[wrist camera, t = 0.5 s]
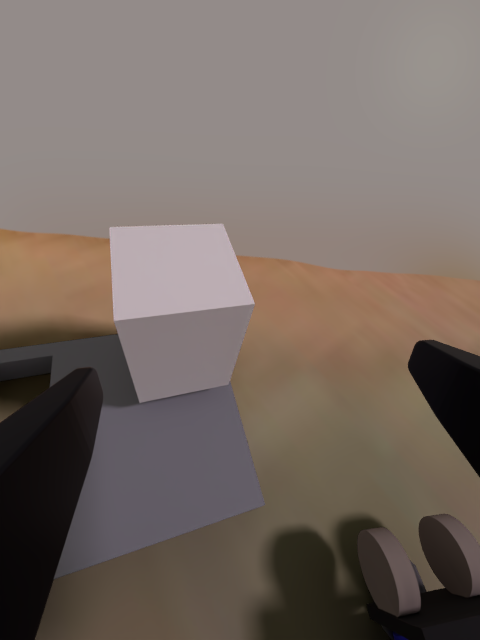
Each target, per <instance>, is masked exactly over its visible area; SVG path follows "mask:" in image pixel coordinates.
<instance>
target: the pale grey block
mask: <svg viewBox="0 0 480 640" xmlns="http://www.w3.org/2000/svg"><path fill="white" fill-rule="evenodd" d="M110 250H111V270H112V291H113V312H114V323H115V326H116V329H117V332H118V336H119V339H120V342H121V345H122V348H123V351H124V355H125V358H126V361H127V364H128V367H129V371H130V374H131V377H132V380H133V383H134V386H135V390H136V393H137V396H138V399H139V402H140V403H142V402H146V401H151V400H156V399H161V398H166V397H171V396H176V395H180V394H185V393H190V392H195V391H200V390H205V389H210V388H214V387H219V386H224V385H229V382H230V379H231V376H232V372H233V369H234V366H235V363H236V360H237V357H238V354H239V351H240V348H241V345H242V342H243V339H244V336H245V333H246V330H247V326H248V323H249V320H250V317H251V314H252V311H253V308H254V305H255V303H254V300H253V298H252V295H251V293H250V290H249V288H248V285H247V283H246V280H245V278H244V275H243V273H242V270H241V268H240V265H239V263H238V260H237V258H236V255H235V253H234V251H233V249H232V246H231V243H230V240H229V238H228V235H227V233H226V230H225V228H224V225H223V224H198V225H164V226H132V227H110Z"/></svg>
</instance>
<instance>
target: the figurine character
mask: <svg viewBox="0 0 480 640" xmlns="http://www.w3.org/2000/svg"><path fill="white" fill-rule="evenodd" d="M419 538H420V542H421V546H422V549H423V552H424V554H425V557H426V559H427V561H428V563H429V565H430V567H431V569H432V570H433V572H434V574H435V575H436V577H437V578H438V579H439V581H440V582H441V583H442V584H443V586H444V587H445V588H443V589H438V590H433V591H429V592H426V589H425V587H424V585H423V582H422V580H421V578H420V575H419V573H418V571H417V568H416V566H415V565H414V564H413V563H412V562H411V561H410V560H409V558H408V556H407V554H406V552H405V550H404V548H403V547H402V545H401V544H400V542H399V541H398V539H397V538H396V537H395V536H394V535H393V534H392V533H391V532H390V531H389V530H388V529H386V528H384V527H379V528H373V529H366V530H361V531H360V532H359V534H358V538H357V550H358V557H359V562H360V566H361V570H362V573H363V576H364V579H365V582H366V584H367V587H368V589H369V591H370V594H371V596H372V598H373V600H374V603H370V604H367V608H368V612H369V616H370V619H371V620H373V621H375V622H377V623H379V624H380V625H382V627H383V629H384V631H385V632H386V633H387V634H388V636H389V637H390V638H391V639H392V640H393V636H394V639H395V640H480V546H479V544H478V542H477V541H476V539H475V538H474V536H473V535H472V534H471V533H470V531H469V530H468V529H467V528H466V527H465V526H464V525H463V524H462V523H461V522H460V521H459V520H457V519H456V518H455V517H453V516H451V515H448V514H439V515H432V516H426V517H423V518H422V519H421V521H420V523H419Z"/></svg>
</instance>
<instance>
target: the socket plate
mask: <svg viewBox="0 0 480 640" xmlns="http://www.w3.org/2000/svg"><path fill="white" fill-rule="evenodd" d="M85 367H93V368H95V369H96V371H97V373H98V376H99V380H100V383H101V386H102V389H103V404H102V409H101V414H100V419H99V424H98V430H97V435H96V440H95V445H94V450H93V454H92V458H91V462H90V465H89V469H88V472H87V475H86V478H85V481H84V484H83V488H82V491H81V494H80V497H79V500H78V504H77V507H76V510H75V513H74V516H73V519H72V523H71V526H70V529H69V532H68V535H67V538H66V542H65V545H64V548H63V551H62V554H61V558H60V561H59V564H58V567H57V570H56V573H55V577H54V579H56V578H59V577H62V576H64V575H67V574H70V573H73V572H76V571H79V570H82V569H84V568H87V567H90V566H93V565H96V564H99V563H101V562H104V561H107V560H110V559H113V558H116V557H119V556H121V555H124V554H127V553H130V552H133V551H136V550H138V549H141V548H144V547H147V546H150V545H153V544H156V543H158V542H161V541H164V540H167V539H170V538H173V537H175V536H178V535H181V534H184V533H187V532H190V531H193V530H195V529H198V528H201V527H204V526H207V525H210V524H212V523H215V522H218V521H221V520H224V519H227V518H230V517H232V516H235V515H238V514H241V513H244V512H247V511H249V510H252V509H255V508H258V507H261V506H264V505H265V503H264V499H263V496H262V492H261V489H260V485H259V482H258V478H257V475H256V471H255V468H254V464H253V461H252V457H251V453H250V450H249V446H248V443H247V439H246V436H245V432H244V429H243V425H242V422H241V418H240V415H239V411H238V408H237V404H236V401H235V397H234V394H233V390H232V386H231V383H230V382H229V385H224V386H219V387H214V388H210V389H205V390H200V391H195V392H190V393H185V394H180V395H176V396H171V397H166V398H161V399H156V400H151V401H146V402H142V403H140V402H139V399H138V396H137V393H136V390H135V386H134V383H133V380H132V377H131V374H130V371H129V367H128V364H127V361H126V358H125V355H124V351H123V348H122V345H121V342H120V339H119V336H118V334H115V335H108V336H100V337H93V338H85V339H78V340H70V341H63V342H55V343H48V344H41V345H33V346H26V347H18V348H11V349H3V350H0V381H5V380H11V379H17V378H23V377H29V376H36V375H42V374H48V373H51V379H50V387H51V386H52V385H54V384H55V383H57V382H58V381H59V380H61V379H62V378H64V377H65V376H66V375H68V374H69V373H71V372H72V371H73V370H75V369H77V368H85Z"/></svg>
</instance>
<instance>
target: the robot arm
mask: <svg viewBox="0 0 480 640" xmlns="http://www.w3.org/2000/svg"><path fill="white" fill-rule="evenodd" d="M408 369H409V371H410V373H411V375H412V377H413V378H414V380H415V382H416V383H417V385H418V387H419V389H420V390H421V392H422V394H423V395H424V397H425V399H426V400H427V402H428V404H429V406H430V407H431V409H432V411H433V412H434V414H435V415H436V417H437V418H438V420H439V421H440V423H441V424H442V426H443V427H444V428H445V430H446V431H447V432H448V434H449V435H450V437H451V438H452V439H453V441H454V442H455V444H456V445H457V446H458V448H459V449H460V451H461V452H462V453H463V455H464V456H465V458H466V459H467V460H468V462H469V463H470V465H471V466H472V467H473V469H474V470H475V472H476V473H477V474H478V476H479V477H480V356H477V355H475V354H472V353H469V352H466V351H463V350H460V349H458V348H455V347H452V346H449V345H446V344H443V343H441V342H438V341H435V340H421V341H418V342H417V343H416V344H415V346H414V349H413V351H412V354H411V356H410V359H409V362H408ZM102 404H103V389H102V386H101V383H100V380H99V376H98V373H97V371H96V369H95V368H93V367H85V368H77V369H75V370H73V371H72V372H71V373H69V374H68V375H66V376H65V377H64V378H62V379H61V380H59V381H58V382H57V383H55V384H54V385H52V386H51V387H50V388H48V389H47V390H45V391H44V392H43V393H41V394H40V395H38V396H37V397H36V398H34V399H33V400H31V401H30V402H29V403H27V404H26V405H24V406H23V407H22V408H20V409H19V410H17V411H16V412H15V413H13V414H12V415H10V416H9V417H8V418H6V419H5V420H3V421H2V422H1V423H0V640H35V637H36V634H37V631H38V628H39V624H40V621H41V618H42V615H43V612H44V608H45V605H46V602H47V599H48V596H49V593H50V589H51V586H52V583H53V580H54V577H55V573H56V570H57V567H58V564H59V561H60V558H61V554H62V551H63V548H64V545H65V542H66V538H67V535H68V532H69V529H70V526H71V523H72V519H73V516H74V513H75V510H76V507H77V504H78V500H79V497H80V494H81V491H82V488H83V484H84V481H85V478H86V475H87V472H88V469H89V465H90V462H91V458H92V454H93V450H94V445H95V440H96V435H97V430H98V424H99V419H100V414H101V409H102Z"/></svg>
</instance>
